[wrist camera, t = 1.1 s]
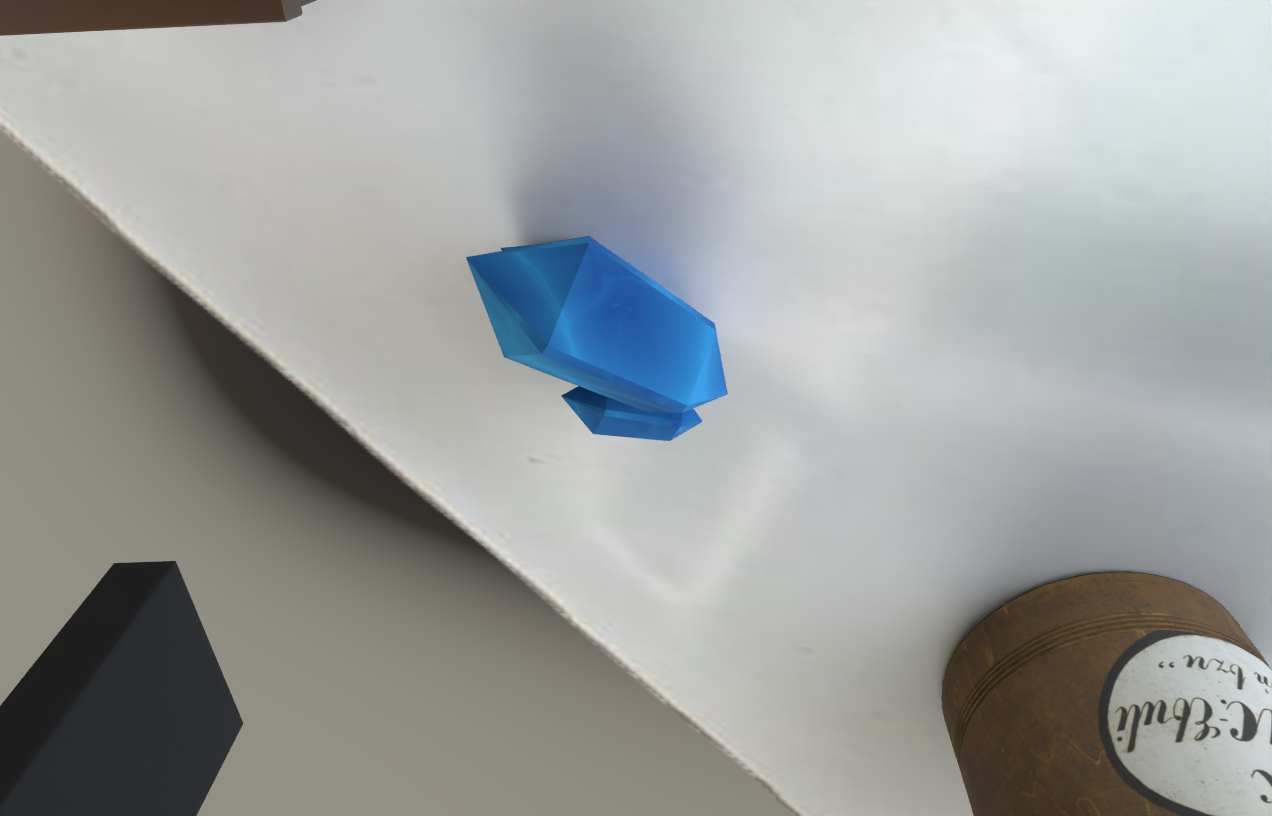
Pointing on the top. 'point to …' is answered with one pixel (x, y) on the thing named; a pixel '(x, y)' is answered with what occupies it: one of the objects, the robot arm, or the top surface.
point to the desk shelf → (137, 14)
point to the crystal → (602, 336)
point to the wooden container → (1111, 704)
